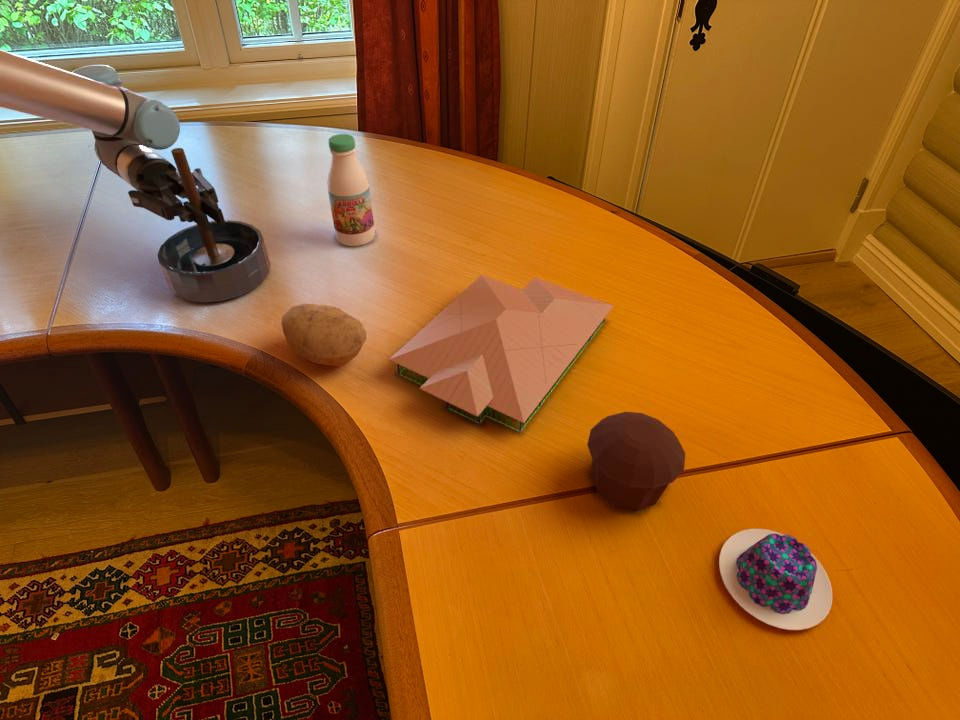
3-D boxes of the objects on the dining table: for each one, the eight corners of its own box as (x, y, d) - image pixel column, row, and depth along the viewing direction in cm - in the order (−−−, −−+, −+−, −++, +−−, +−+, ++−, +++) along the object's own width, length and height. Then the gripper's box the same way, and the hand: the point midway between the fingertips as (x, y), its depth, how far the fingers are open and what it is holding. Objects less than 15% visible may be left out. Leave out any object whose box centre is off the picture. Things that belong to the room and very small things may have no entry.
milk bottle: (331, 231, 122) (314, 133, 108) (368, 223, 124) (356, 126, 110) (342, 251, 117) (324, 150, 103) (380, 242, 119) (368, 143, 105)
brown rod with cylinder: (190, 277, 106) (143, 158, 91) (209, 255, 112) (168, 139, 96) (227, 281, 106) (186, 161, 91) (245, 259, 111) (209, 142, 96)
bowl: (151, 300, 105) (137, 269, 100) (200, 246, 117) (189, 216, 113) (246, 310, 103) (236, 279, 98) (285, 254, 115) (278, 224, 111)
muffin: (684, 470, 79) (704, 420, 72) (657, 535, 72) (676, 486, 65) (600, 434, 84) (611, 383, 77) (566, 492, 77) (575, 442, 70)
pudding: (697, 578, 68) (709, 554, 65) (748, 514, 74) (762, 489, 71) (800, 657, 62) (820, 636, 59) (847, 580, 68) (868, 556, 65)
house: (379, 386, 90) (373, 345, 84) (494, 277, 110) (495, 239, 105) (512, 452, 81) (515, 411, 76) (610, 321, 102) (618, 281, 96)
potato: (312, 323, 101) (302, 284, 95) (382, 349, 96) (377, 310, 90) (271, 358, 94) (259, 319, 89) (345, 388, 90) (337, 349, 84)
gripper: (194, 179, 116) (260, 224, 104) (116, 206, 108) (177, 258, 96) (181, 140, 111) (249, 183, 99) (98, 166, 103) (161, 216, 91)
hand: (214, 220), depth 98 cm, fingers closed on brown rod with cylinder, 2 cm apart
